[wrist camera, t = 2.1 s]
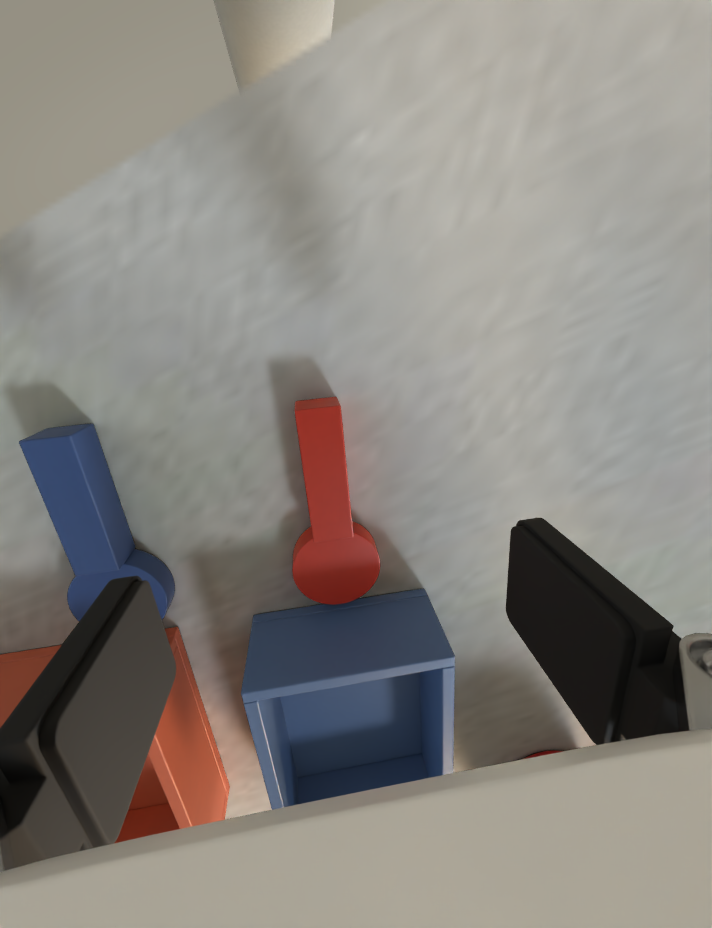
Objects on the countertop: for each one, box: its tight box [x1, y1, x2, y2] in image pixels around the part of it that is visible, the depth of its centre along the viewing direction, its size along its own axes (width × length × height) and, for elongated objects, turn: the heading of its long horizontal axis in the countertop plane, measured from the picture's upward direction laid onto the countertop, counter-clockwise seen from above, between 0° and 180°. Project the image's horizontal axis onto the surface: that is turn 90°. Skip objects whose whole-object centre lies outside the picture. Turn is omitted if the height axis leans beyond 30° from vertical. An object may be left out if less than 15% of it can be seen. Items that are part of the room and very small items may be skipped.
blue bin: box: [241, 588, 455, 810], centre depth 21 cm, size 13×9×5 cm
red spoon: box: [292, 397, 380, 605], centre depth 18 cm, size 10×4×2 cm, turn 4°
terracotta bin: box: [0, 627, 230, 843], centre depth 20 cm, size 13×9×5 cm
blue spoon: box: [19, 423, 175, 621], centre depth 17 cm, size 10×4×2 cm, turn 4°
